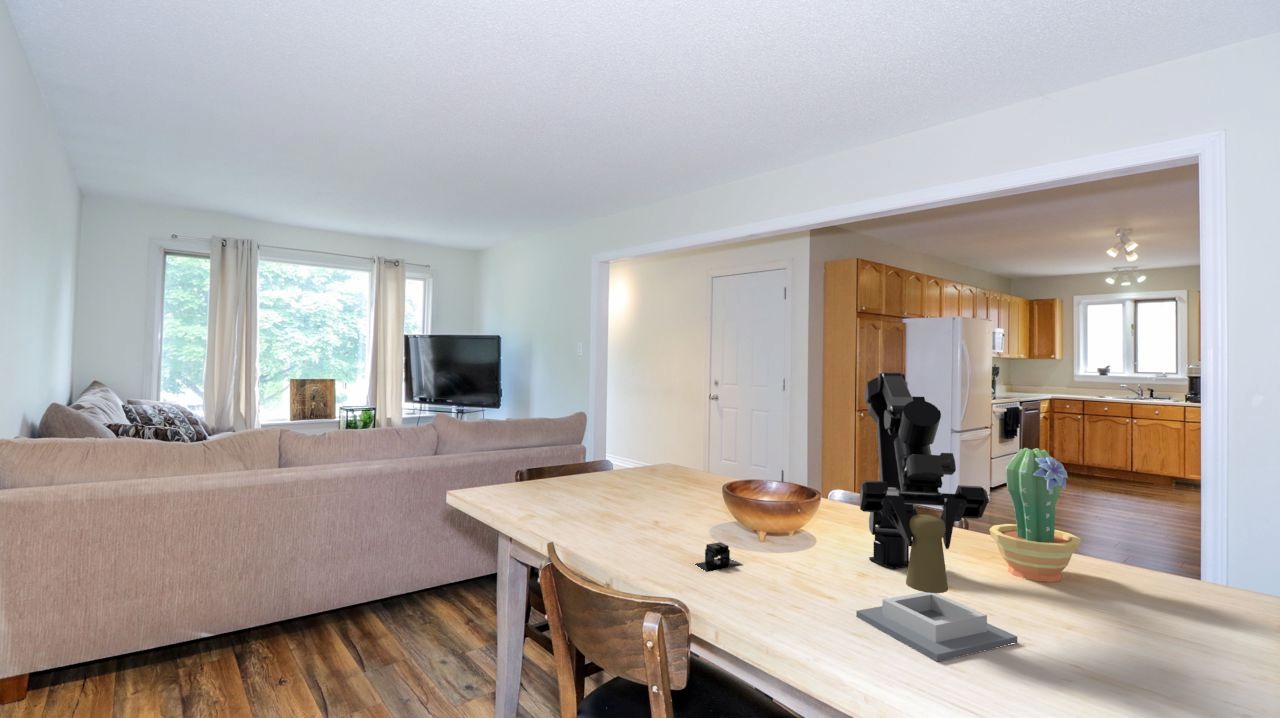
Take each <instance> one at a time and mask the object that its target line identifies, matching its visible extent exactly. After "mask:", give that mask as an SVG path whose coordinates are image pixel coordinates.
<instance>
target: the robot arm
mask: <svg viewBox="0 0 1280 718" xmlns="http://www.w3.org/2000/svg"><path fill="white" fill-rule="evenodd" d="M908 387H909V386H908V382H907V381H906V376H905V374H904V373H902V372H900V371H898V372H897V371H895V372H894V371H885V372H884V371H882V372H881V373H878V375H877V377H875V378H873V379H871V380H869V381H867V382H866V386H865V387H864V403H865V405H866V404H867V410H868V414H869V415H870V417H871V418H872V419H873V420H874V422H875V423H876V433H877V450H878V452H877V453H878V464H879V465H878V466H879V480H864V481H863V482H861V484H860V485H861V486H860V491H859V492H860V493H859V508H860V509H859V510H860V511H862V512H865V513H869V517H868V529H869V532H870V533H871V535H873V536H874V540H873V556H870V557H868V558H869V559H868V560H869V561H871V562H874V563H876V564H878V565H881V566H883V567H886V568H888V569H891V570H894V569H901V568H908V565H909V558H910V553H909V552H910V547H911V546H912V538H913V535H912V533H911V531H910V527H909V522H910V519H911V518H912V517H913V516H915V515H919V514H918V513H917V509H916V507H914V505H918V506H920V505H921V506H936V507H937V506H938V507H942V513H941V516H940V518H941V519H942V520H943V522H944V523H945V526H946V532H945V535H944V536H943V538H942V539H943V540H942V542H943V544H944V547H945V550H949V549H950V546H951V541H952V535H953V528H954V524H955V522H961V520H963V519H980V518H981V519H982V517H983V515H984V512H985V510H986V508H987V506H988V504H989V502H990V500H989V496H988V492H987V489H985V488H984V487H983V486H981V485H964V484H963V485H961V484H958V485H957V487H956V490H955V492H954V493H948V492H947V493H943V492H940V491H939V489H942V487H943V479H942V478H944V476H946V475H949V476H953V475H954V474H955V473H956V459H955V456H954V453H953V452H941V453H940V454H939V455H937V454H932V450H931V445H932V444H934V442H935V438H936V435H937V431H938V428H939V425H940V421H941V418H942V412H941V410H940V409H939V408H938V407H937V406H936V405H934V404H933V403H931V402H928V401H926V399H925V398H926V397H925V396H912V394H911V393H910V390H909V388H908Z"/></svg>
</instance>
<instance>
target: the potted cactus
mask: <svg viewBox="0 0 1280 718" xmlns="http://www.w3.org/2000/svg"><path fill="white" fill-rule="evenodd" d="M1005 473H1006V475H1005V476H1006V488H1007V490H1008V493H1009V495H1010V498H1011V500H1012V502H1013V509H1014V514H1015V521H1016V524H1015V523H1014V524H1013V523H1003V524H996V525H992V526H991V527H990V528H989V530H988V531H989V533H990V537H991V538H992V539H993V540H995V544H996V546H997V548H998V551H999V554H1000V555H1001V557H1002V558H1003V559H1004V560H1005V562H1006V563H1007V564H1008V568H1007V572H1009V573H1010V574H1011V575H1013V576H1015V575H1016V577H1019V578H1021V577H1022V578H1021V579H1024V578H1026V579H1025V580H1029V579H1030V580H1029V581H1034V580H1036V581H1035V582H1041V581H1047V582H1046V583H1055V582H1060V581H1061V580H1060V579H1062V575H1061V573H1062V572H1063V570H1065V569H1066V567H1068V565H1069V563H1070V561H1071V559H1072V556H1073V554H1074V552H1078V551H1079V548H1080V545H1081V540H1082V539H1081V538H1080V537H1078V536H1076V535H1074V534H1072V533H1070V532H1066V531H1062V530H1059V529H1058V530H1057V529H1055V527H1056V526H1055V525H1056V523H1055V522H1056V503H1057V501H1058V499H1059V498H1060V494H1061V488H1062V490H1066V488H1067V480H1066V479H1068V472H1067V471H1066V469H1065V468H1064V465H1063V464H1062V463H1061V462H1060V461H1058V460H1057V459H1055V458H1053V457H1052V456H1051V455H1050V454H1049V453H1048V451H1047V450H1046V449H1043V450H1042V449H1041V450H1040V449H1039V448H1038V447H1036V448H1033V449H1030V448H1028V447H1024V448H1020V449H1019V450H1018V452H1017V453H1016V454H1015V455H1014V457H1012V458H1011V460H1010V461H1009V463H1008V464H1007V466H1006V467H1005ZM1054 581H1055V582H1054Z"/></svg>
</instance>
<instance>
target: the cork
mask: <svg viewBox="0 0 1280 718" xmlns="http://www.w3.org/2000/svg"><path fill="white" fill-rule="evenodd" d="M909 527H910V531H911V533H912V535H913V537H912V546H910V550H909V552H910V553H909V565H908V567H907V572H906V578H905V584H906V586H907V587H909V588H911V589H913V590H915V591H919V592H921V593H922V592H927V593H937V594H942V593H943V594H944V593H946V592H948V591H949V584H948V576H947V571H946V562H945V555H944V547H943V540H942V539H943V536H944V535H945V532H946V526H945V523H944V522H943V520H942V519H941V517H938V516H935V515H933V514H932V515H931V514H925V513H923V514H918V515H915V516H913V517H912V518H911V519H910V522H909Z"/></svg>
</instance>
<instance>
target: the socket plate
mask: <svg viewBox="0 0 1280 718" xmlns="http://www.w3.org/2000/svg"><path fill="white" fill-rule="evenodd" d="M881 602H882V606H877V607H876V606H874V607H869V608H864V609H858V610H856V612H855V613H856V615H855V616H856V618H857V619H859V620H861V621H863V622H864V623H866V624H868V625H870V626H872V627H873V628H876V629H877V630H879V631H881V632H883V633H885V634H886V635H888V636H890V637H892V638H894V639H896V640H897V641H899V642H901V643H903V644H904V645H906V646H908V647H910V648H912V649H913V650H915V651H917V652H919V653H920V654H922V655H924V656H926V657H927V658H930V659H931V660H933V661H935V662H937V663H938V662H942V661H946V660H951V659H955V657H956V658H960V657H964V656H968V655H967V654H969V655H971V654H972V653H973V654H976V652H977V653H980V652H979V651H982V652H985V651H984V650H986V651H990V650H993V649H992V648H995V649H997V648H996V647H999V648H1001V647H1000V646H1003V647H1005V646H1004V645H1007V646H1009V645H1008V644H1011V643H1016V644H1018V636H1017V635H1016V634H1013V633H1011V632H1009V631H1006V630H1004V629H1001V628H999V627H997V626H995V625H992V624H990V623H988V616H987V615H988V614H985V613H983V612H981V611H979V610H976V609H974V608H973V607H972V608H971V607H969V606H966V605H964V604H962V603H960V602H957V601H955V600H952V599H950V598H948V597H945V596H943V595H942V594H940V593H927V592H922V591H921V592H917V593H911V594H906V595H901V596H894V597H889V598H882V601H881ZM989 649H990V650H989ZM963 655H964V656H963ZM959 656H960V657H959Z"/></svg>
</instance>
